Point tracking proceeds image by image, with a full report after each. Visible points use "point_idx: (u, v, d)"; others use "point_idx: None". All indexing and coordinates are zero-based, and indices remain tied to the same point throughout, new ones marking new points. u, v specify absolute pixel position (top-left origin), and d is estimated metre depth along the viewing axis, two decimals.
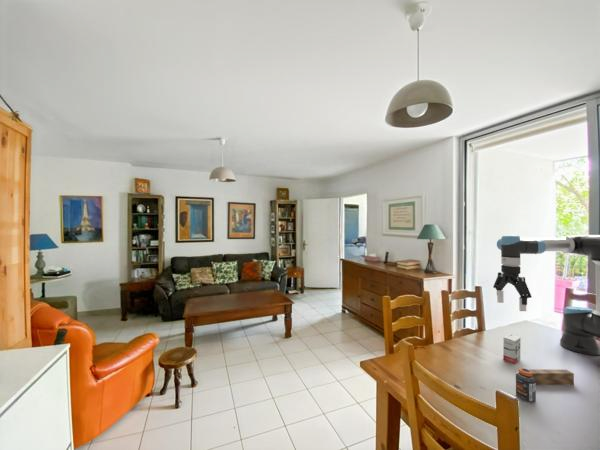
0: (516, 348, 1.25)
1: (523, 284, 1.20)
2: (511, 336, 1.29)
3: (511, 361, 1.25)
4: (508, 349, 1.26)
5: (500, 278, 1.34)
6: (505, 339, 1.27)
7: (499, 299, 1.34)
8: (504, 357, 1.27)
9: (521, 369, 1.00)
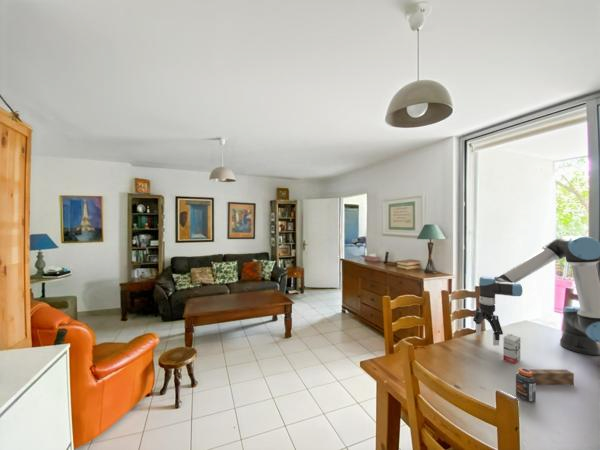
0: (516, 348, 1.25)
1: (496, 322, 1.38)
2: (511, 336, 1.29)
3: (511, 361, 1.25)
4: (508, 349, 1.26)
5: (478, 313, 1.51)
6: (505, 339, 1.27)
7: (477, 332, 1.52)
8: (504, 357, 1.27)
9: (521, 369, 1.00)
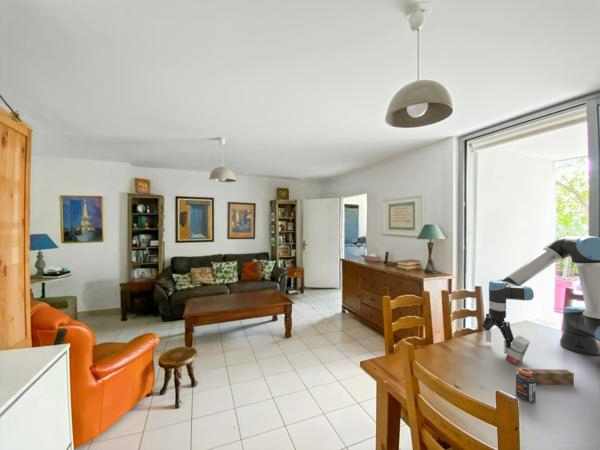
0: (523, 351, 1.22)
1: (507, 329, 1.30)
2: (521, 339, 1.25)
3: (514, 362, 1.24)
4: (514, 351, 1.24)
5: (488, 319, 1.44)
6: (514, 341, 1.24)
7: (487, 338, 1.44)
8: (507, 356, 1.26)
9: (521, 369, 1.00)
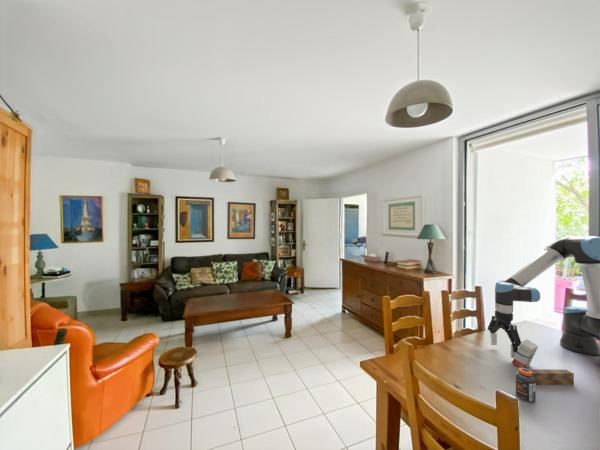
0: (530, 356, 1.18)
1: (514, 333, 1.25)
2: (529, 343, 1.21)
3: (520, 366, 1.20)
4: (521, 355, 1.19)
5: (494, 321, 1.39)
6: (522, 345, 1.19)
7: (492, 341, 1.40)
8: (514, 361, 1.22)
9: (521, 369, 1.00)
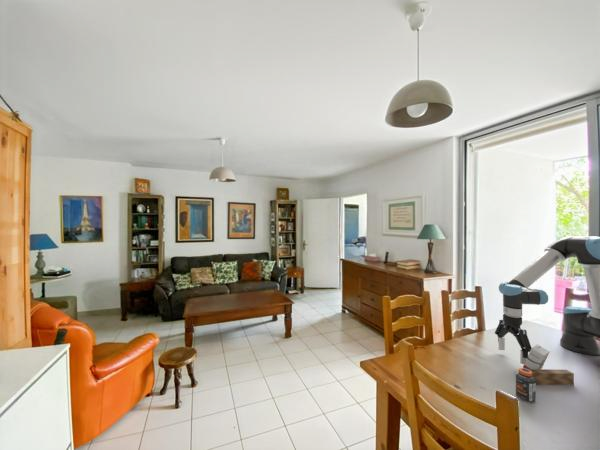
0: (542, 362, 1.13)
1: (524, 338, 1.20)
2: (539, 348, 1.16)
3: None
4: (532, 361, 1.14)
5: (501, 325, 1.34)
6: (532, 351, 1.14)
7: (500, 346, 1.34)
8: (524, 367, 1.16)
9: (521, 369, 1.00)
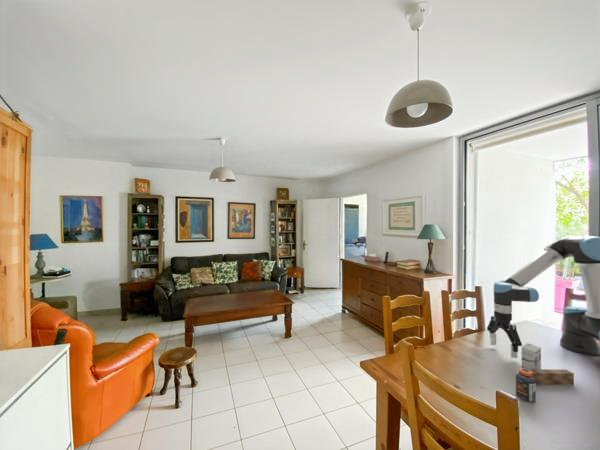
0: (536, 359, 1.14)
1: (514, 333, 1.26)
2: (530, 346, 1.18)
3: None
4: (527, 360, 1.16)
5: (493, 322, 1.40)
6: (523, 349, 1.17)
7: (492, 342, 1.40)
8: None
9: (521, 369, 1.00)
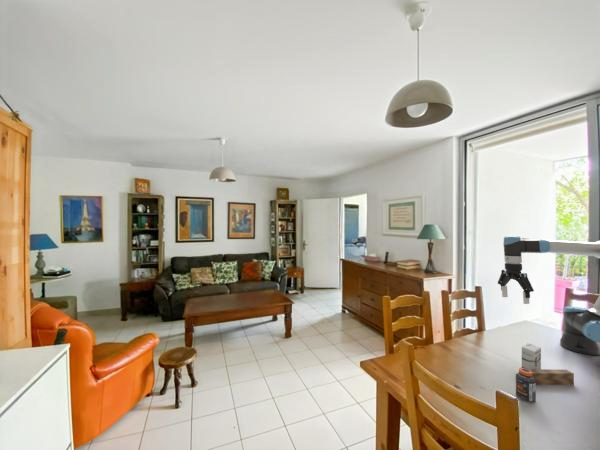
0: (536, 359, 1.14)
1: (525, 280, 1.34)
2: (530, 346, 1.18)
3: None
4: (527, 360, 1.16)
5: (504, 275, 1.48)
6: (523, 349, 1.17)
7: (504, 294, 1.48)
8: None
9: (521, 369, 1.00)
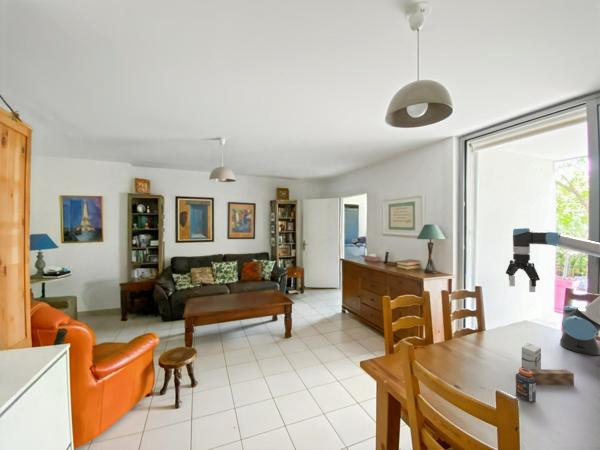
0: (536, 359, 1.14)
1: (532, 269, 1.41)
2: (530, 346, 1.18)
3: None
4: (527, 360, 1.16)
5: (512, 265, 1.55)
6: (523, 349, 1.17)
7: (511, 283, 1.55)
8: None
9: (521, 369, 1.00)
